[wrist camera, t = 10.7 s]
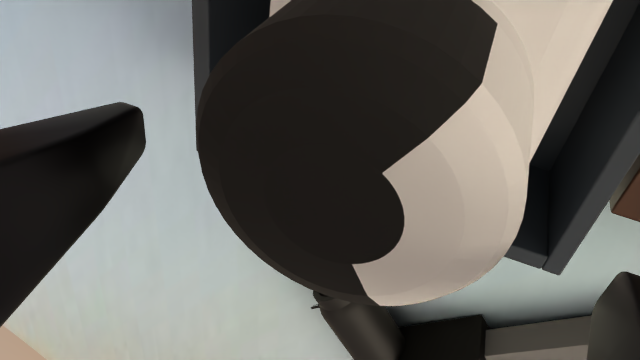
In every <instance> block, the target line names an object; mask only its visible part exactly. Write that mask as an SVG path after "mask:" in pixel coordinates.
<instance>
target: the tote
mask: <svg viewBox="0 0 640 360" xmlns="http://www.w3.org/2000/svg"><path fill="white" fill-rule="evenodd" d="M270 3H271V0H192V19H193V52H194V84H195V116H196V118H197V108H198V104H199V101H200V97H201V93H202V90H203V88H204V86H205V84H206V81H207V79H208V77H209V75H210V73H211V72H212V70H213V69H214V68H215V66H216V65H217V63H218V62H219V60H220V59H221V58H222V57H223V56H224V55H225V54H226V53H227V52H228V51H229V50H230V49H231V48H232V47H233V46H234V45H235V44H236V43H237V42H239V41H240V40H241V39H243V38H244V37H245V36H246V35H248V34H249V33H250V32H251V31H253V30H254V29H255V28H257V27H258V26H259V25H260V24H262V23H263V22H264V21H265V20H267V19H268V18H269V16H270ZM196 148H197V142H196ZM197 151H198V149H197ZM639 154H640V0H613V1H612V3H611V5H610V7H609V9H608V11H607V13H606V15H605V17H604V19H603V21H602V23H601V25H600V27H599V29H598V31H597V33H596V35H595V36H594V38H593V40H592V42H591V44H590V46H589V48H588V50H587V52H586V54H585V56H584V58H583V60H582V62H581V64H580V66H579V68H578V70H577V72H576V74H575V75H574V77H573V79H572V81H571V83H570V85H569V87H568V89H567V91H566V93H565V95H564V97H563V99H562V101H561V103H560V105H559V107H558V109H557V111H556V113H555V114H554V116H553V118H552V120H551V122H550V124H549V126H548V128H547V130H546V132H545V134H544V136H543V138H542V140H541V142H540V144H539V146H538V148H537V150H536V152H535V154H534V155H533V157H532V159H531V161H530V163H529V174H528V187H527V199H526V204H525V210H524V216H523V220H522V222H521V225H520V228H519V230H518V233H517V236H516V238H515V239H514V241H513V243H512V244H511V246H510V248H509V249H508V251H507V252H506V254H505V255H504V257H507V258H510V259H513V260H516V261H519V262H521V263H524V264H527V265H530V266H533V267H536V268H539V269H540V268H542V269H543V270H545V271H548V272H550V273H553V274H556V275H560V274H561V273H562V271H563V270H564V268H565V266H566V265H567V263H568V262H569V260H570V259H571V257H572V256H573V254H574V253H575V251H576V250H577V248H578V247H579V245H580V244H581V242H582V241H583V239H584V238H585V236H586V235H587V233H588V232H589V230H590V228H591V227H592V225H593V224H594V222H595V221H596V219H597V218H598V216H599V215H600V213H601V212H602V210H603V209H604V207H605V206H606V204H607V203H608V201H609V200H610V198H611V197H612V195H613V193H614V192H615V190H616V189H617V187H618V186H619V184H620V183H621V181H622V180H623V178H624V177H625V175H626V174H627V172H628V171H629V169H630V168H631V166H632V165H633V163H634V162H635V160H636V159H637V157H638V155H639Z"/></svg>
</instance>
